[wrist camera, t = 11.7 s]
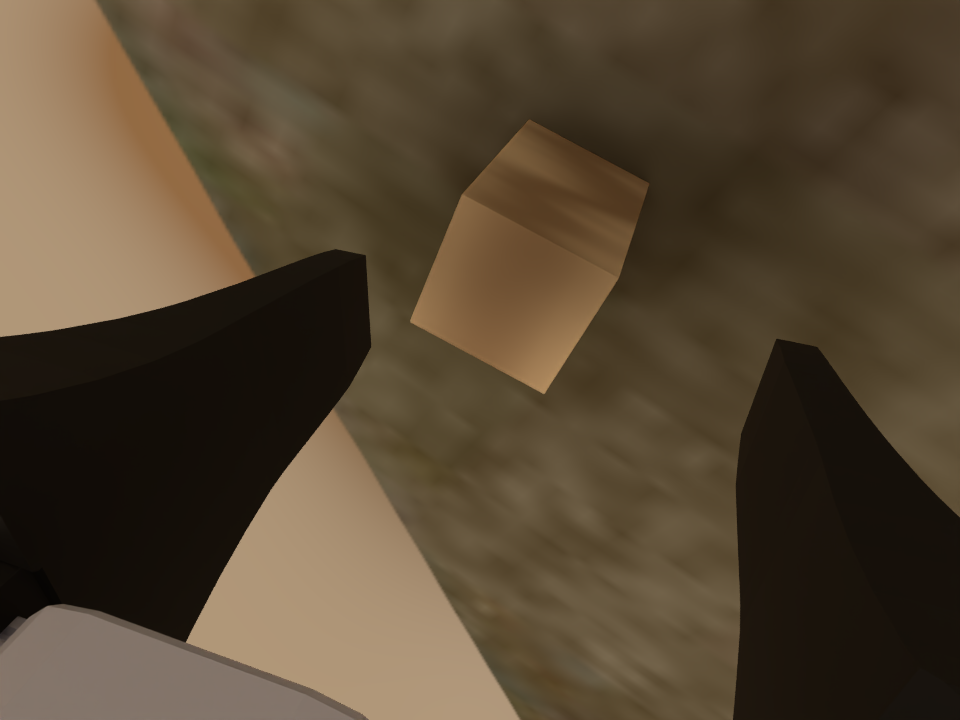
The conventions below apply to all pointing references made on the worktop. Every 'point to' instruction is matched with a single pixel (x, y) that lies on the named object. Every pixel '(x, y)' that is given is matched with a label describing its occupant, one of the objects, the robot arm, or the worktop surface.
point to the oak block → (531, 255)
